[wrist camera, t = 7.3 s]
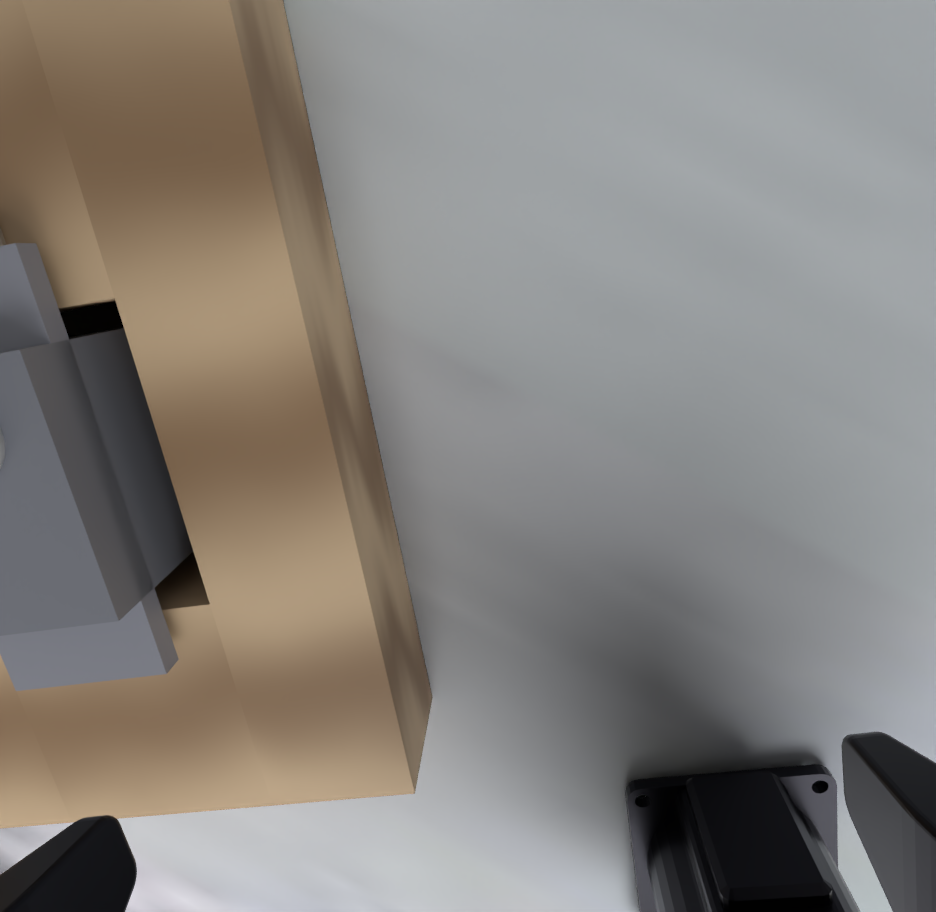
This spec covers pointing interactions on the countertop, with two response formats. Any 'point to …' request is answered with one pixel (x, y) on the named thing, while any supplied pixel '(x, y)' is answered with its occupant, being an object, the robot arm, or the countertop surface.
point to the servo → (78, 497)
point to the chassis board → (213, 418)
